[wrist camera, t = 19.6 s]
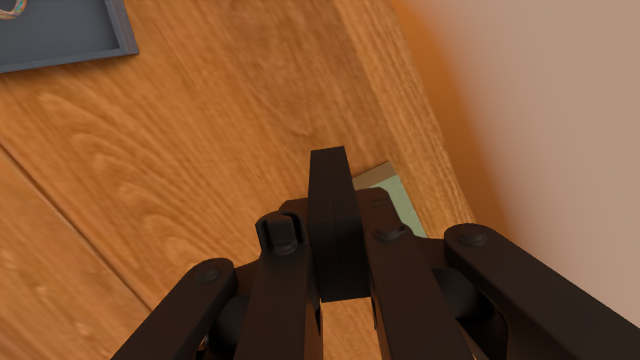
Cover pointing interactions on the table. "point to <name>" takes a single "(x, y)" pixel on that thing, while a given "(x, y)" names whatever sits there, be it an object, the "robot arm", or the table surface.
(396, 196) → the green button box
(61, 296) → the table surface
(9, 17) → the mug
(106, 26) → the tray
